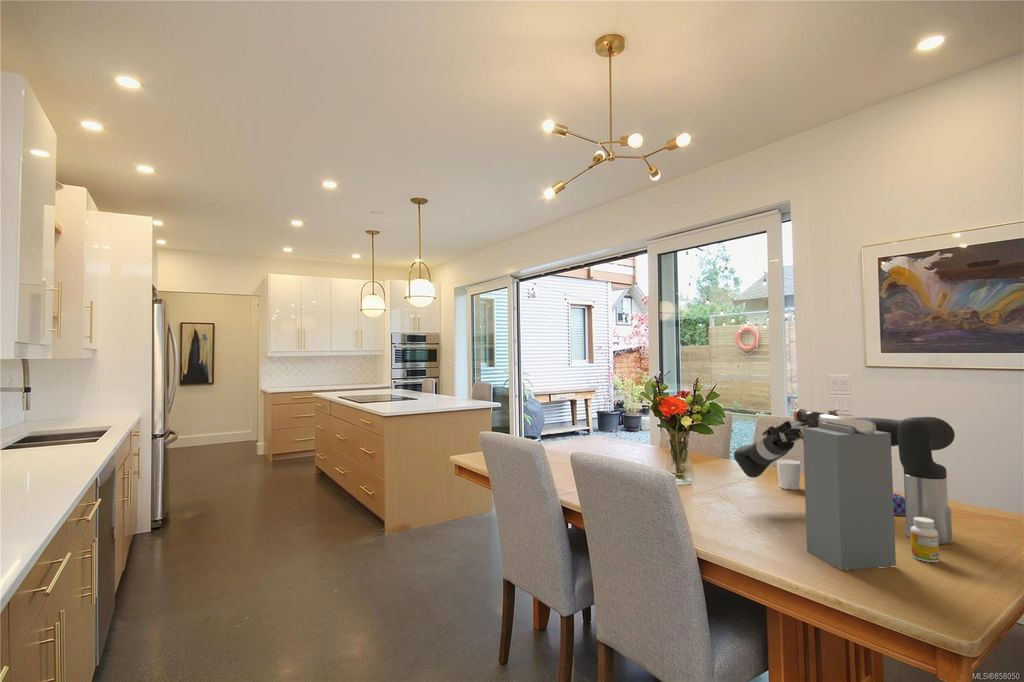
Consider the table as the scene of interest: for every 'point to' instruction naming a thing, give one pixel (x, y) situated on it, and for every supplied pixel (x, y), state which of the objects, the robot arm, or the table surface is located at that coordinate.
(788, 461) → the white cup
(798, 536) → the table surface
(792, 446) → the robot arm
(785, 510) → the table surface
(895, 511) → the pudding
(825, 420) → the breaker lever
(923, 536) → the supplement bottle
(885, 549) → the tall grey box
